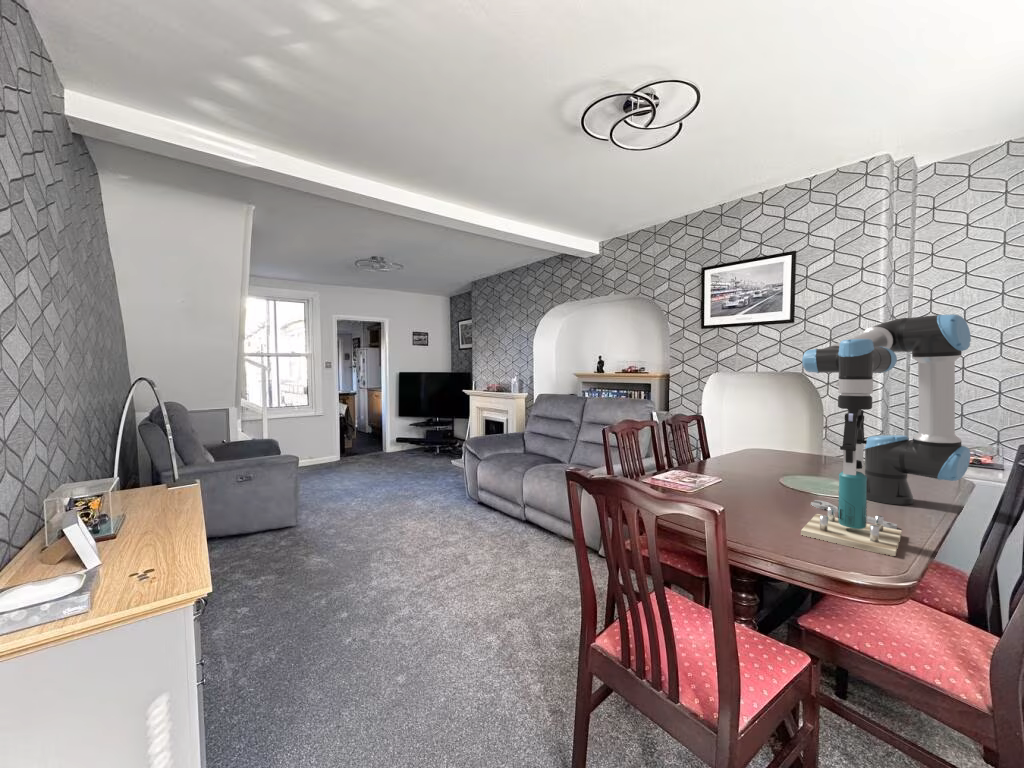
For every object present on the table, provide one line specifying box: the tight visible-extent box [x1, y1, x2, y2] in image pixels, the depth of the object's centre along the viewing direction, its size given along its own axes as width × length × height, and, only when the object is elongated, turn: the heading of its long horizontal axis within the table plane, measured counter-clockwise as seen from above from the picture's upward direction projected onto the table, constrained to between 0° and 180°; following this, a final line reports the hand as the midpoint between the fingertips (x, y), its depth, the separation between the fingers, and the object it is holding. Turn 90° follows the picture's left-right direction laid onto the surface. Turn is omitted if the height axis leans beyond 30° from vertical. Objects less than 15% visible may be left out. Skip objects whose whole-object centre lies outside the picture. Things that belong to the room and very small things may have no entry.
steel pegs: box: [820, 507, 885, 543], centre depth 122 cm, size 13×13×4 cm
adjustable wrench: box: [810, 499, 898, 530], centre depth 139 cm, size 25×6×2 cm, turn 15°
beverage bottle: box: [837, 460, 868, 529], centre depth 122 cm, size 6×7×20 cm
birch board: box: [800, 513, 903, 557], centre depth 122 cm, size 20×20×2 cm
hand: (853, 470), depth 122 cm, fingers open, 13 cm apart
